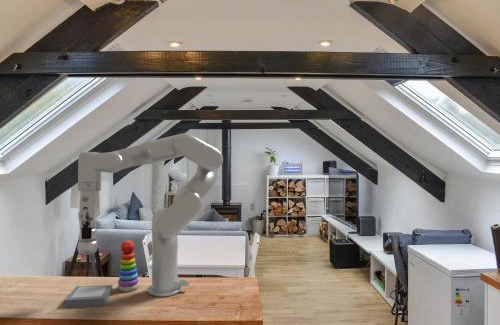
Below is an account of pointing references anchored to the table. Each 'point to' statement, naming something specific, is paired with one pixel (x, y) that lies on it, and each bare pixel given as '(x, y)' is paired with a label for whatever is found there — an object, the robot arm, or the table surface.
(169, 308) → the table surface
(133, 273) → the stacking toy
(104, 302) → the slate pedestal
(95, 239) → the metal water bottle
